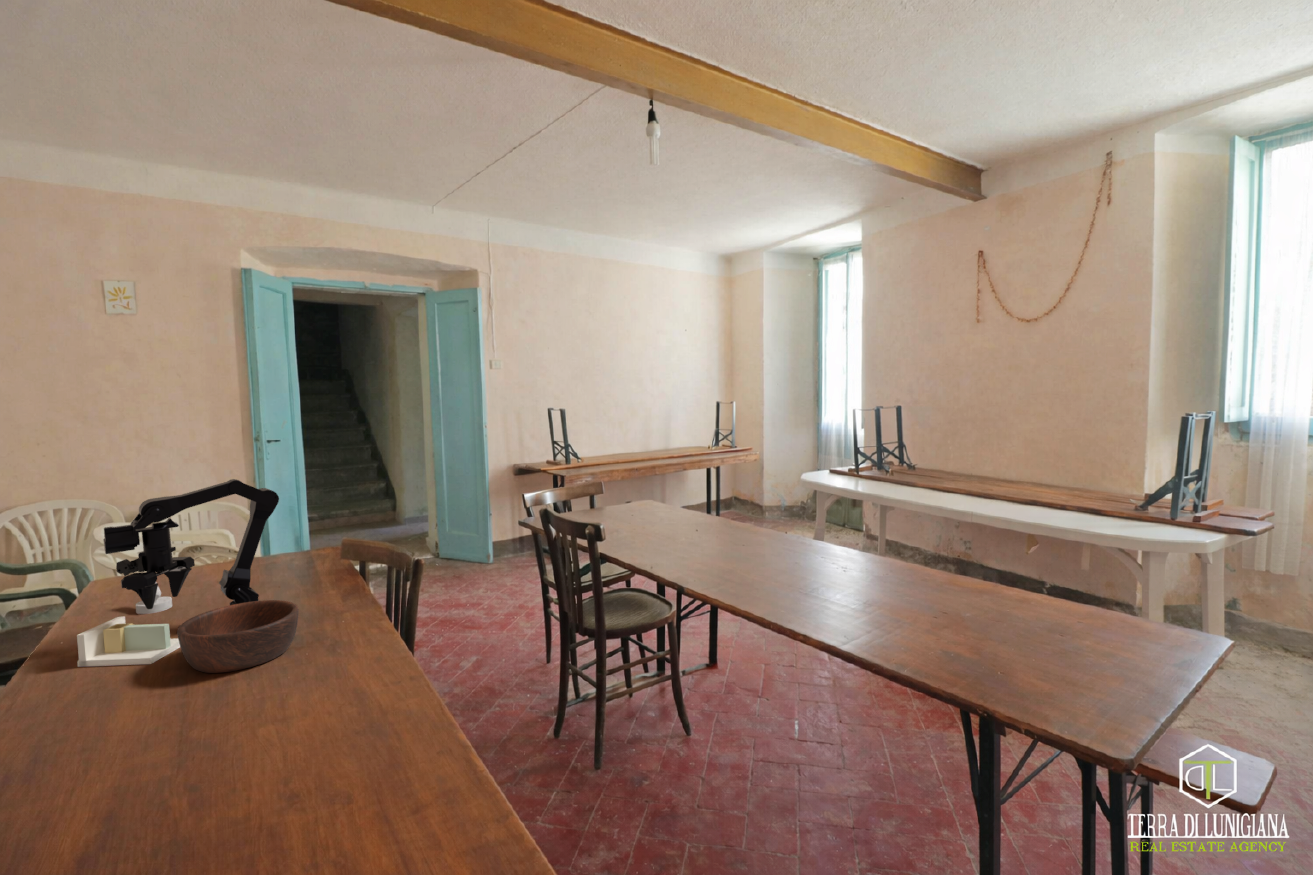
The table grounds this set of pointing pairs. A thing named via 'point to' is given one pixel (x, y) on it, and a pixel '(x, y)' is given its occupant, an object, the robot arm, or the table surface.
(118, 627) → the square socket tool
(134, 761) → the table surface
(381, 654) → the table surface
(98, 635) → the l-shaped pin bracket
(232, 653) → the wooden bowl
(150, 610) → the wall hook
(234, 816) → the table surface
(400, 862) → the table surface
